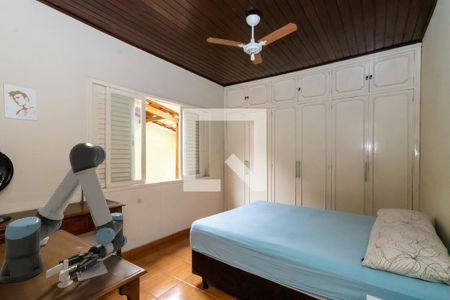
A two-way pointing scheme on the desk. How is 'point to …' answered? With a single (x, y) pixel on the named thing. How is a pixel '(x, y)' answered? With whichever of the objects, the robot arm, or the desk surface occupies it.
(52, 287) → the desk surface
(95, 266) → the cream rectangular board
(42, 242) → the figurine
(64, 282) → the white stepped tower
